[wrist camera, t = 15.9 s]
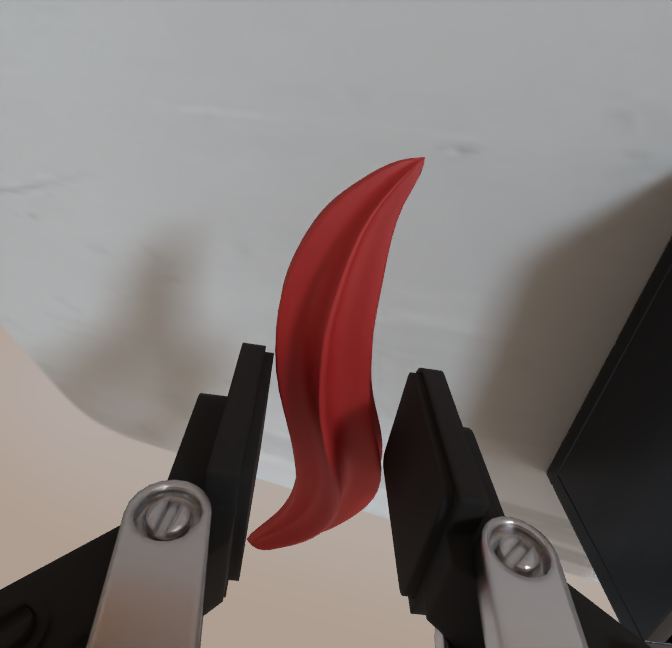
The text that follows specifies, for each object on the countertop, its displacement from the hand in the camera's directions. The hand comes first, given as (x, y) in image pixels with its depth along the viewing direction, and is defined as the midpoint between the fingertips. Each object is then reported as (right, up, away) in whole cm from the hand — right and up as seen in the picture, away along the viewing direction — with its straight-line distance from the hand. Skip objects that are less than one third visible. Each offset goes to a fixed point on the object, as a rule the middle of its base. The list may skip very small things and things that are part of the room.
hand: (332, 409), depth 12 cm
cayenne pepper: (0, 0, +1) cm, 1 cm away
